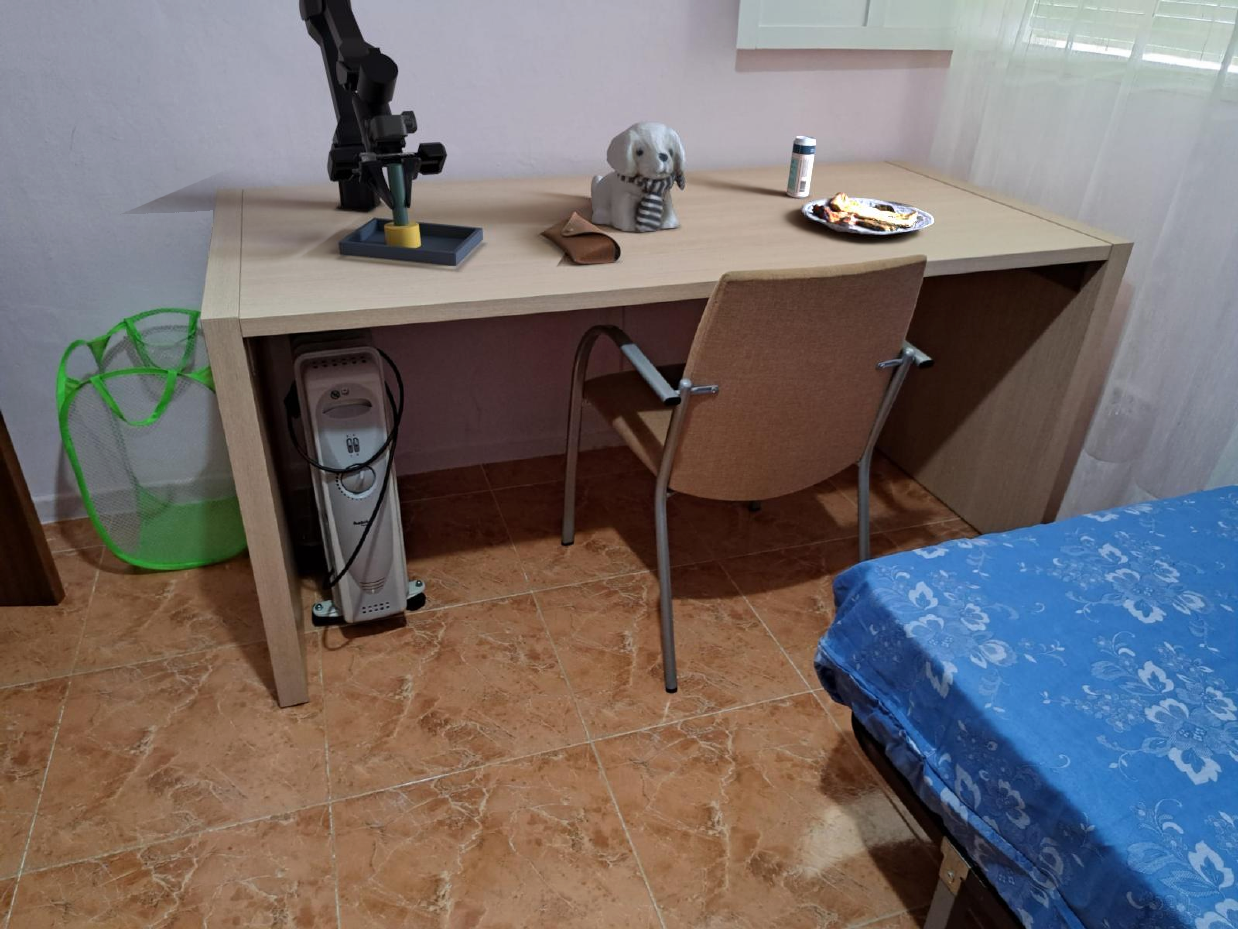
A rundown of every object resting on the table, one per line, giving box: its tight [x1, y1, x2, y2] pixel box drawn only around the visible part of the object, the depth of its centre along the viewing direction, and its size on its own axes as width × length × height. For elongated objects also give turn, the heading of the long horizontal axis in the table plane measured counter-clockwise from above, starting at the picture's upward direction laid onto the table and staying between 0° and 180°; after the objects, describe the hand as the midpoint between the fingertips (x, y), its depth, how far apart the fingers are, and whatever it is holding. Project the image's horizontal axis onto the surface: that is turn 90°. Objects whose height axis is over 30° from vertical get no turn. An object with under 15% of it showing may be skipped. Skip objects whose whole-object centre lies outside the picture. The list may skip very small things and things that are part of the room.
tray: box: [338, 217, 484, 267], centre depth 151 cm, size 20×15×3 cm
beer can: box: [786, 135, 817, 199], centre depth 192 cm, size 5×5×12 cm
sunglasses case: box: [540, 211, 622, 265], centre depth 156 cm, size 18×7×7 cm
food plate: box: [800, 192, 934, 236], centre depth 177 cm, size 25×23×4 cm
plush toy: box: [590, 121, 687, 233], centre depth 170 cm, size 18×25×18 cm
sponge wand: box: [384, 164, 421, 248], centre depth 147 cm, size 6×6×13 cm
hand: (400, 207), depth 146 cm, fingers closed on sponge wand, 2 cm apart
